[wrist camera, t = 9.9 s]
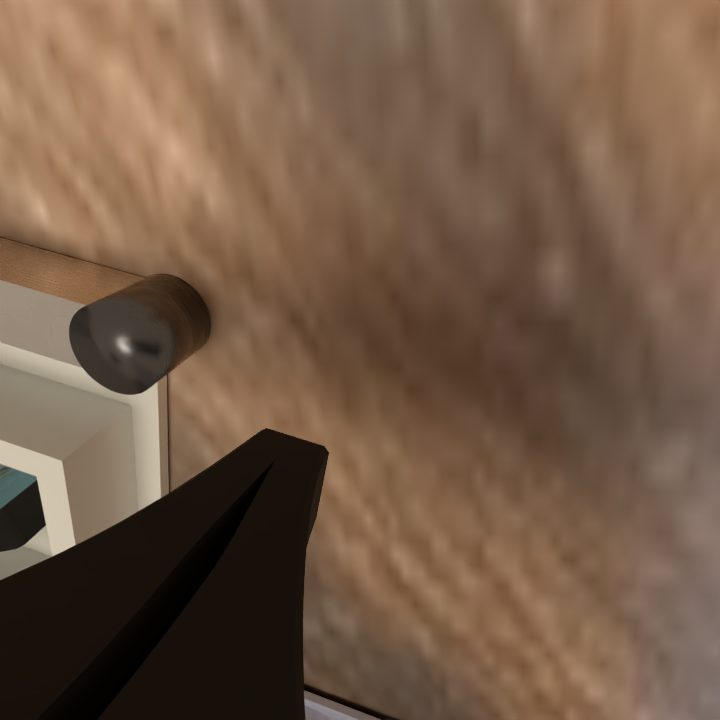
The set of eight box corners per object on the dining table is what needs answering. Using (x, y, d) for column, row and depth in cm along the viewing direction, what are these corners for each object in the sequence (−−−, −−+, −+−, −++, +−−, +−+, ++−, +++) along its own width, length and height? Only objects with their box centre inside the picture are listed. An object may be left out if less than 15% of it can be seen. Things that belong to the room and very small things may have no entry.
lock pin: (211, 286, 14) (157, 319, 12) (209, 363, 15) (159, 406, 13) (-38, 217, 15) (-132, 235, 13) (-21, 294, 16) (-104, 323, 14)
